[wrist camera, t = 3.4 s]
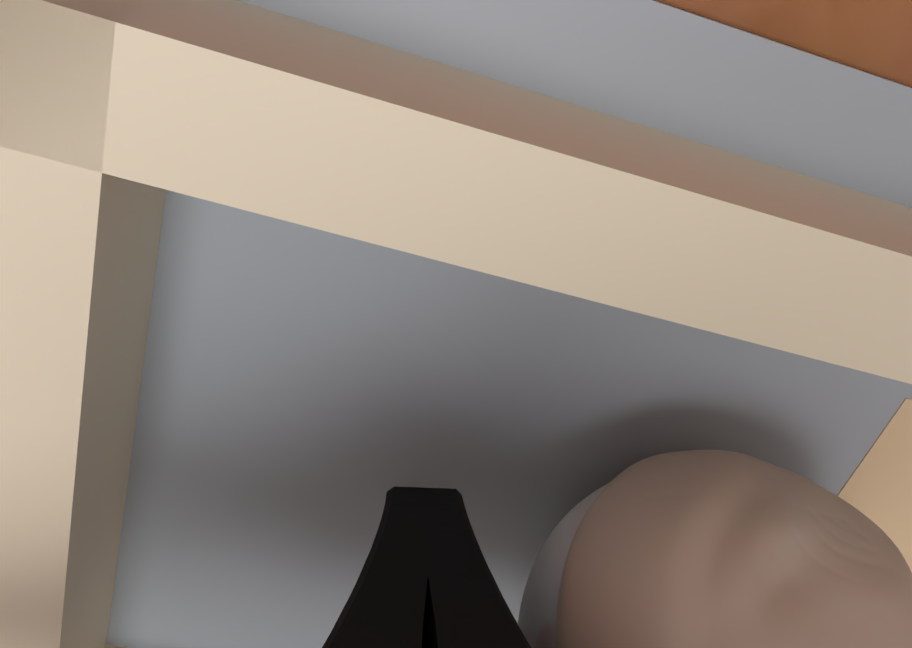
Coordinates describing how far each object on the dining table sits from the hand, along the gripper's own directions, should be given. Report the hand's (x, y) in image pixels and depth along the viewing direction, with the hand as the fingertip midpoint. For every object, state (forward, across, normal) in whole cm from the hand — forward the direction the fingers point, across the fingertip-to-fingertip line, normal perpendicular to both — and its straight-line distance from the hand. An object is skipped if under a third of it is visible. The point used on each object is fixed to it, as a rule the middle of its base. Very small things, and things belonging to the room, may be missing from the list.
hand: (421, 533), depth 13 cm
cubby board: (+1, -4, +1) cm, 4 cm away
